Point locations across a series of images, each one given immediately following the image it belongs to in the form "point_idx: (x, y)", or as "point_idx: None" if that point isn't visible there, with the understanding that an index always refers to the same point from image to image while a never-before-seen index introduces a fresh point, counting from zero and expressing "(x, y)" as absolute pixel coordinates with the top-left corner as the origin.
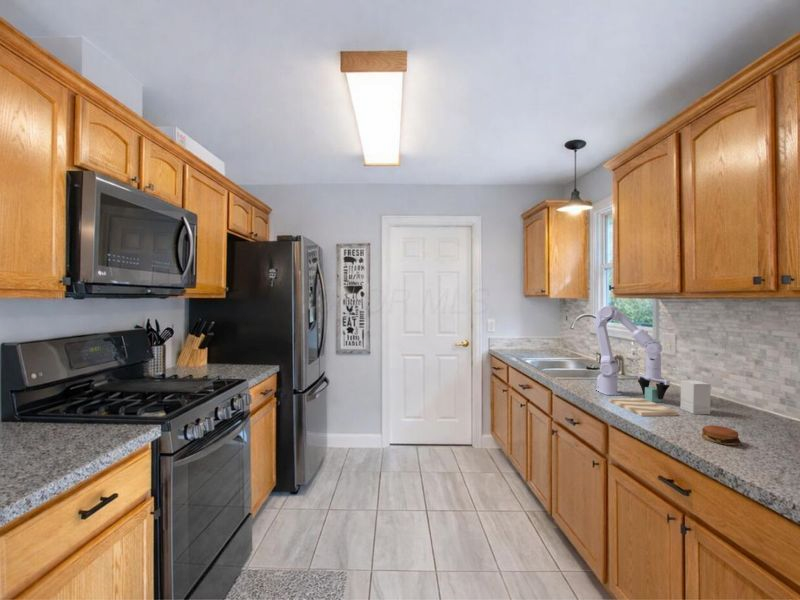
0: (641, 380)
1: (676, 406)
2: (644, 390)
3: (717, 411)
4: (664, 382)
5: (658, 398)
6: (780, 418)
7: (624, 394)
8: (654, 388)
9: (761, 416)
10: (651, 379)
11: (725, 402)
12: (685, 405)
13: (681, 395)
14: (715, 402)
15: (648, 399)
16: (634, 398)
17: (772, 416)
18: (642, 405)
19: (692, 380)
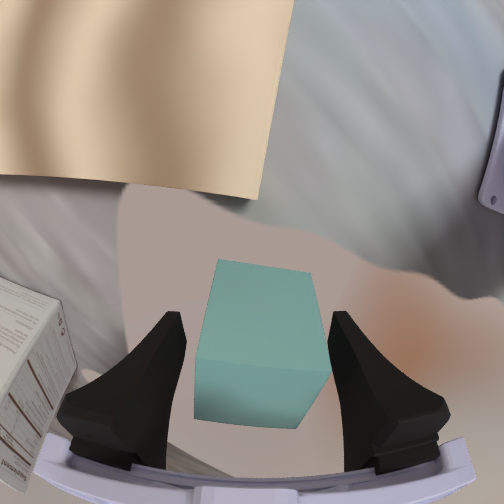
0: (396, 431)
1: (110, 328)
2: (343, 346)
3: (67, 393)
4: (58, 459)
5: (172, 313)
6: (52, 431)
7: (474, 246)
8: (244, 406)
9: (54, 423)
10: (180, 494)
11: (192, 473)
12: (10, 307)
13: (8, 362)
14: (192, 464)
15: (262, 275)
16: (274, 96)
17: (64, 436)
18: (40, 3)
19: (9, 486)
